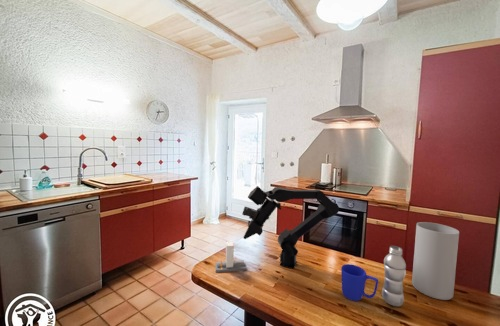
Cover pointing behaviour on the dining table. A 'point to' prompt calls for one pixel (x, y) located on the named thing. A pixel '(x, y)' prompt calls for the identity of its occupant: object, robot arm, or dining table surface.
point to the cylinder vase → (435, 260)
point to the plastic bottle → (394, 277)
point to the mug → (355, 282)
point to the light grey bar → (235, 263)
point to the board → (230, 268)
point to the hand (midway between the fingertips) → (244, 238)
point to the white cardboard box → (229, 254)
